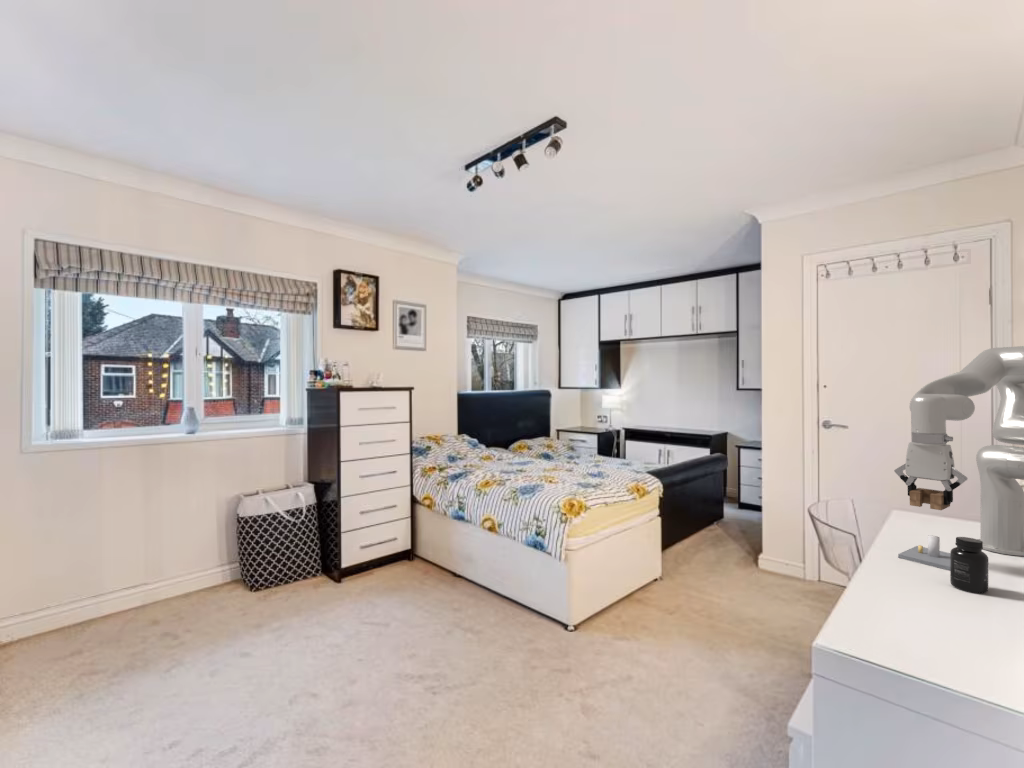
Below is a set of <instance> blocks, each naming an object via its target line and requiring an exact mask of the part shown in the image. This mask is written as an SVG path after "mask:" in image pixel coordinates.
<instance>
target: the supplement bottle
mask: <svg viewBox="0 0 1024 768" xmlns="http://www.w3.org/2000/svg"><path fill="white" fill-rule="evenodd" d="M978 539H979V538H978ZM978 539H977V538H973V537H967V536H956V537H955V542H954V544H955V547H953V548H952V549H950V552H949V553H950V570H949V572H950V576H949V577H950V580H949V581H950V584H951V586H952V587H953V588H956V589H958V590H961V591H964V592H969V593H972V594H973V593H974V594H986V593H988V592H989V557H988V554H987V553H985V552H984V551H983V550H984V549H983V542H982V541H980V540H978Z"/></svg>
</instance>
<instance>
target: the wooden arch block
mask: <svg viewBox="0 0 1024 768" xmlns="http://www.w3.org/2000/svg"><path fill="white" fill-rule="evenodd" d="M943 491H944V490H936V489H930V488H923V487H917V489H915V490H912V491H910V496H909V506H912V507H917V508H918V507H919V508H921V507H923V504H925V505H926V504H927V505H929V509H931V510H938V511H943V510H944V509H947V508H950V507H951V504H949V505H944V495H943Z"/></svg>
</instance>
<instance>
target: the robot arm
mask: <svg viewBox="0 0 1024 768" xmlns="http://www.w3.org/2000/svg"><path fill="white" fill-rule="evenodd" d="M995 386H996V388H997V390H998V393H999V396H1000V400H999V405H998V408H997V411H996V416H995V419H994V422H993V425H992V431H991V432H992V437H993V438H994V439H995V440H996V441H998V442H1001V443H1004V444H1010V445H1003V444H989V445H986V446H982V447H981V448H980V449H978V451H977V453H976V456H975V457H976V458H975V460H976V467H977V469H978V473H979V474H978V475H979V480H980V538H978V540H980V541H982V542H983V550H985V551H988V552H993V553H998V554H1002V555H1009V556H1017V557H1018V556H1019V557H1021V556H1022V557H1024V488H1022V486H1021V484H1020V483H1019V482H1018V481H1017V480H1023V481H1024V447H1020V446H1015V445H1021V446H1024V345H1022V346H1021V345H1020V346H1004V347H992V348H987V349H985V350H983V351H981V352H980V353H979V354H978V355H976V357H975V358H973V359H972V360H971V361H970V362H969V363H968V364H967V365H966V366H965V367H963V368H962V369H961V370H960V371H957V372H954V373H952V374H949V375H946V376H944V377H941V378H938V379H936V380H933V381H931V382H928V383H927V384H925V385H924V386H922V387H921V388H920V389H919V390H918V391H917V392H916V393H915V394H914V395H913V397H912V398H911V400H910V402H909V411H910V425H911V427H910V428H911V429H910V431H911V432H910V435H911V442H908V445H907V450H906V455H905V456H906V457H905V463H904V464H902V465H901V466H898V467H897V468H895V469H894V473H895V474H896V475H897V476H898V477H899V478H900V480H902V482H904V483H905V485H906V486H907V496H908V497H910V491H912V490H915V489H917V488H918V487H917V485H916V483H915V482H916V481H917V480H918V479H922V480H931V481H940V482H941V484H942V485H943V487H944V490H942V491H943V495H944V505H949V504H950V505H951V503H953V502H954V490H955V489H957V488H958V487H960V486H962V484H964V483H965V482H966V481H968V477H967V476H966V475H965V474H964V473H962V472H960V470H958V469H956V468H955V460H954V454H953V450H952V446H951V445H950V444H947V443H949V442H953V441H954V437H953V436H951V435H950V436H949V435H948V433H947V421H954V422H955V421H956V422H958V421H959V422H960V421H964V420H968V419H969V418H971V417H972V415H974V412H975V408H976V407H975V403H974V401H973V400H972V399H971V398H970V397H973V396H978V395H982V394H985V393H988V392H989V391H991V390H992V389H993V388H994V387H995ZM1013 445H1014V446H1013ZM904 471H905V473H904ZM954 478H957V479H956V481H954V482H952V481H951V480H954Z"/></svg>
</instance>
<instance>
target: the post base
mask: <svg viewBox="0 0 1024 768" xmlns="http://www.w3.org/2000/svg"><path fill="white" fill-rule="evenodd" d="M940 545H941V543H940V536H937V535H927V547H925V546H923V545H921V544H920V545H915V546H914V547H911V548H908V549H907V550H904V551H903V552H899V553H898V555H897V557H898V558H899V559H903V560H906V561H909V562H915V563H919V564H923V565H927V566H931V567H935V568H939V569H942V570H947V571H950V552H946V551H942V550H940V548H941V547H940Z"/></svg>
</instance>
